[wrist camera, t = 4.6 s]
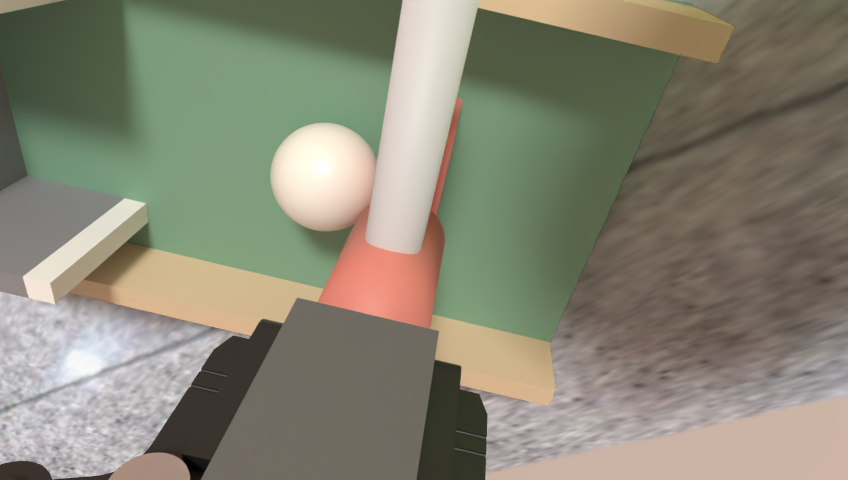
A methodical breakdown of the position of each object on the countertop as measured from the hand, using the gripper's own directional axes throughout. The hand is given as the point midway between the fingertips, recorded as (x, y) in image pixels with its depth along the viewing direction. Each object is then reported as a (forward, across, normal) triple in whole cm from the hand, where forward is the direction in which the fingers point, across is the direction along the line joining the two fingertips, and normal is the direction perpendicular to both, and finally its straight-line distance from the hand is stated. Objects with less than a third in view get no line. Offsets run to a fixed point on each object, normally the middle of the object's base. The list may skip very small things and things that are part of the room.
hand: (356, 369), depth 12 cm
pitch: (+12, +5, 0) cm, 13 cm away
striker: (+10, 0, 0) cm, 10 cm away
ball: (+9, +3, 0) cm, 9 cm away
